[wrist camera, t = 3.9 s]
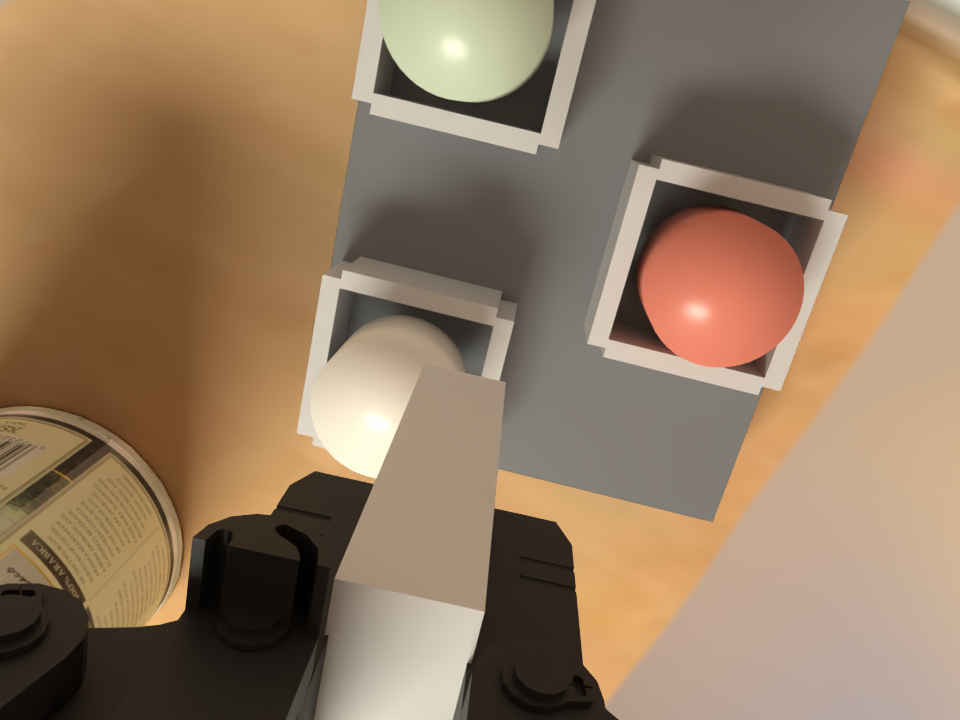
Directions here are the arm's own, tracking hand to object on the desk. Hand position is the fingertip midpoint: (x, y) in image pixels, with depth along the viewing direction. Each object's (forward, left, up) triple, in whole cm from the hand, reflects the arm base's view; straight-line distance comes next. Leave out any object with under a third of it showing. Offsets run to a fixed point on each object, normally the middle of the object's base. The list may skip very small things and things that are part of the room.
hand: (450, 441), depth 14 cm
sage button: (-2, +8, -7) cm, 10 cm away
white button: (-2, -2, -7) cm, 7 cm away
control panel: (+2, +3, -12) cm, 12 cm away
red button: (+5, +3, -8) cm, 10 cm away
